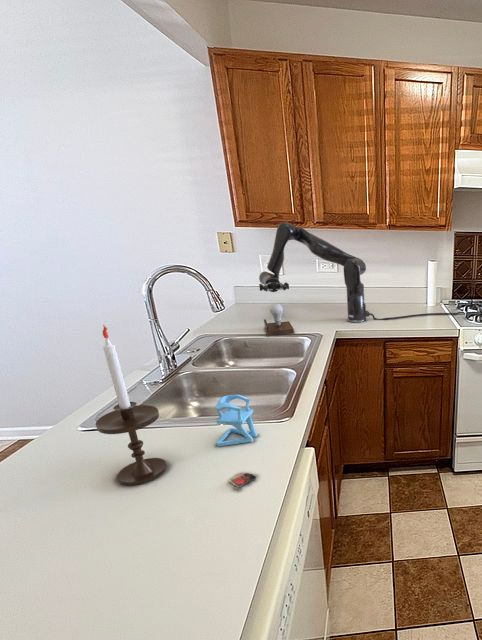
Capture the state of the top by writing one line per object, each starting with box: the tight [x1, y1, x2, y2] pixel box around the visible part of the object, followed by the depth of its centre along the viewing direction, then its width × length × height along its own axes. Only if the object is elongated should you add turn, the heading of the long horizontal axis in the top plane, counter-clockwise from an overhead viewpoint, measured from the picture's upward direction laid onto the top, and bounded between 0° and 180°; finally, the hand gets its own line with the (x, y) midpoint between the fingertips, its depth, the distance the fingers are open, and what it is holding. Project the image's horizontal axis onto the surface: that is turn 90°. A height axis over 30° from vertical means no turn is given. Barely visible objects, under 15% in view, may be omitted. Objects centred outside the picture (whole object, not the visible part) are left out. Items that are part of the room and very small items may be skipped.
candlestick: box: [95, 324, 168, 487], centre depth 84 cm, size 11×11×35 cm
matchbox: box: [229, 472, 257, 490], centre depth 88 cm, size 5×5×1 cm
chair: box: [214, 394, 258, 447], centre depth 102 cm, size 8×8×12 cm
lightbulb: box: [269, 303, 284, 326], centre depth 193 cm, size 6×6×11 cm
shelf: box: [263, 318, 295, 337], centre depth 195 cm, size 12×15×4 cm
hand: (275, 288), depth 199 cm, fingers open, 8 cm apart
